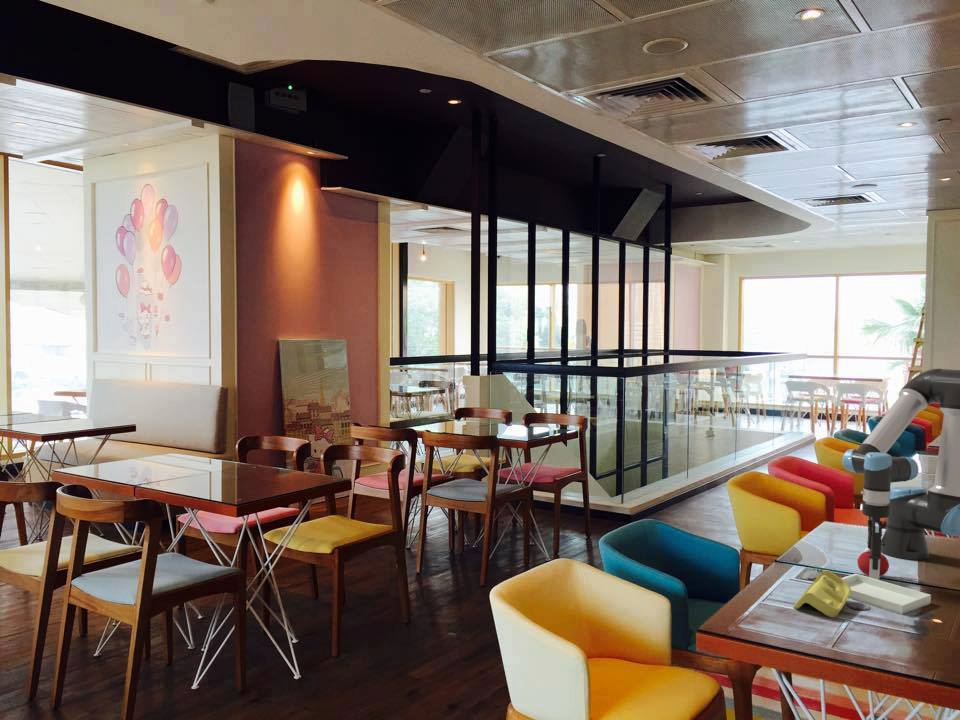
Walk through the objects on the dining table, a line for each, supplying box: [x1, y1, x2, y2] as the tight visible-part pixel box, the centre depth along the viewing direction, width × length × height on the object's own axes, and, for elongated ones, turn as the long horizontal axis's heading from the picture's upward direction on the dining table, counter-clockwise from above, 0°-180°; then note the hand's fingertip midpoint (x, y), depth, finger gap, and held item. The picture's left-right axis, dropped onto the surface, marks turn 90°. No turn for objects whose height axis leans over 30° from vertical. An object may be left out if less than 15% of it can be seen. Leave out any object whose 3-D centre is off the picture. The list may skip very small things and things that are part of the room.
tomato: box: [856, 550, 890, 578], centre depth 245 cm, size 9×9×8 cm
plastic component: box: [793, 569, 851, 618], centre depth 221 cm, size 20×7×10 cm
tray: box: [840, 573, 932, 615], centre depth 228 cm, size 16×22×2 cm
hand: (872, 574), depth 245 cm, fingers closed on tomato, 9 cm apart
